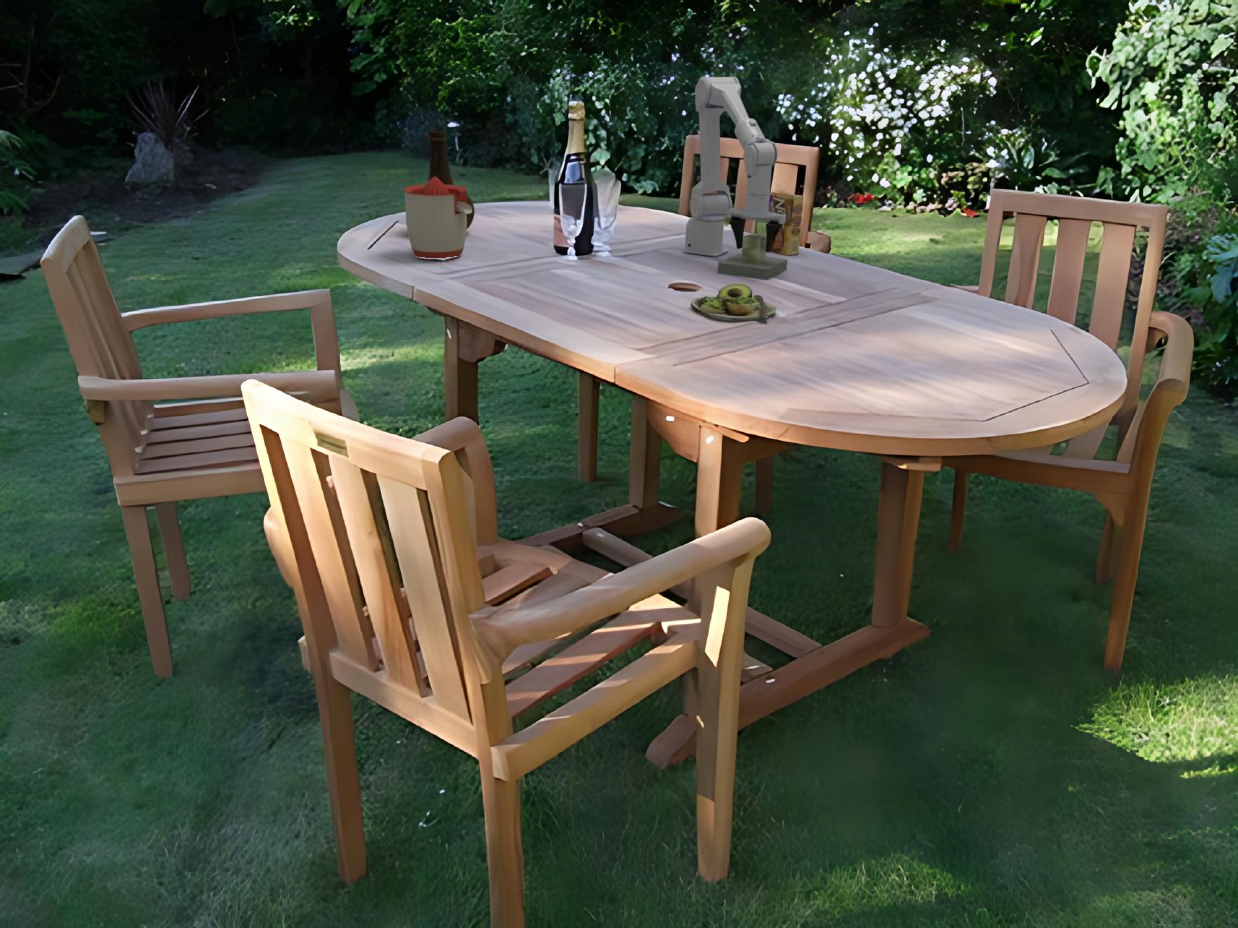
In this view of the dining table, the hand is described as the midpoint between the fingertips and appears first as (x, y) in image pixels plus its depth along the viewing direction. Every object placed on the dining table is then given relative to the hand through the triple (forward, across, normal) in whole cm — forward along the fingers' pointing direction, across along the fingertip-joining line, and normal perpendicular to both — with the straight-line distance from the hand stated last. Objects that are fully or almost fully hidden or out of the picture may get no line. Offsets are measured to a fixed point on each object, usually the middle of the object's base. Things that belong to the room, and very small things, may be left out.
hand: (753, 250), depth 273 cm
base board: (+5, 0, 0) cm, 5 cm away
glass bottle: (+6, -90, -7) cm, 90 cm away
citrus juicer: (+5, -73, -30) cm, 79 cm away
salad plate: (+6, +11, -37) cm, 39 cm away
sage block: (+3, 0, 0) cm, 3 cm away
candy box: (+5, -2, +25) cm, 26 cm away
